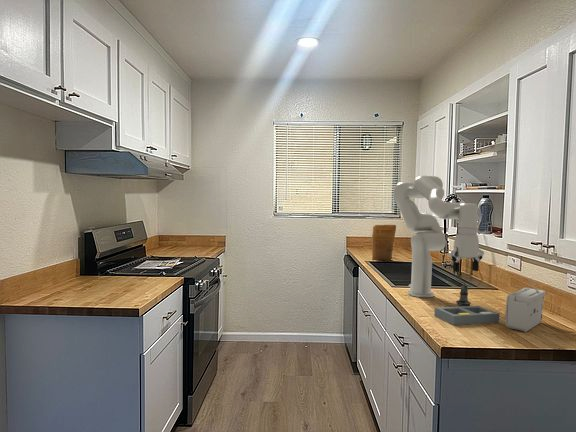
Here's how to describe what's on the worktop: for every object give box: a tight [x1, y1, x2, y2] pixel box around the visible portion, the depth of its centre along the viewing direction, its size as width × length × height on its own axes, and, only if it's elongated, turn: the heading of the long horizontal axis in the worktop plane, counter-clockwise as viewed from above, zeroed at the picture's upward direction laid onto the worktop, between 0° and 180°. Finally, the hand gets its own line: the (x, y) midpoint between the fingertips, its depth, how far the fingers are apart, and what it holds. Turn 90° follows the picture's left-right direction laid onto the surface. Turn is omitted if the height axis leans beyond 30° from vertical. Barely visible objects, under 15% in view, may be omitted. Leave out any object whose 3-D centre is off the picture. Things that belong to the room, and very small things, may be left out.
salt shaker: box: [456, 282, 472, 307], centre depth 177 cm, size 6×6×12 cm
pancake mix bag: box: [371, 224, 397, 261], centre depth 314 cm, size 7×19×28 cm, turn 95°
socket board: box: [434, 305, 501, 326], centre depth 164 cm, size 12×21×4 cm, turn 105°
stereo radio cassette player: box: [504, 278, 547, 333], centre depth 158 cm, size 21×8×20 cm, turn 133°
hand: (465, 271), depth 177 cm, fingers open, 9 cm apart
